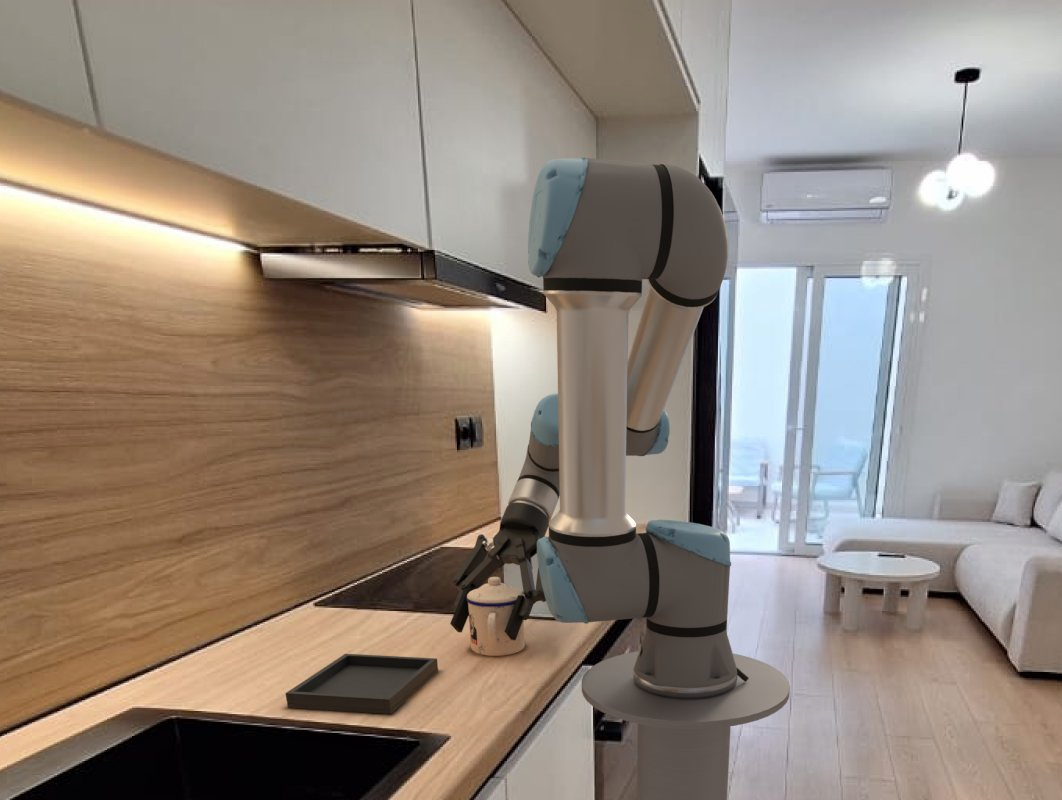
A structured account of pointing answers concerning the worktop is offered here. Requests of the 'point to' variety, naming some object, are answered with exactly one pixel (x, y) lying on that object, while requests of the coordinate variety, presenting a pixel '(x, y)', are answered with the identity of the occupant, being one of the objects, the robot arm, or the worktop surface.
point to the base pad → (363, 683)
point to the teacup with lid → (493, 619)
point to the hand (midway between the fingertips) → (482, 632)
